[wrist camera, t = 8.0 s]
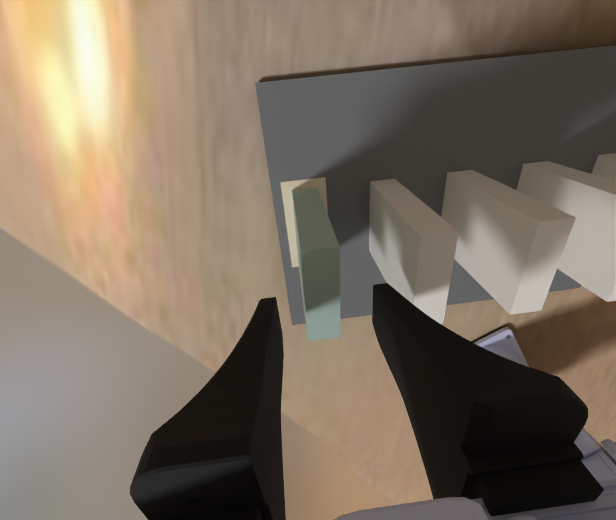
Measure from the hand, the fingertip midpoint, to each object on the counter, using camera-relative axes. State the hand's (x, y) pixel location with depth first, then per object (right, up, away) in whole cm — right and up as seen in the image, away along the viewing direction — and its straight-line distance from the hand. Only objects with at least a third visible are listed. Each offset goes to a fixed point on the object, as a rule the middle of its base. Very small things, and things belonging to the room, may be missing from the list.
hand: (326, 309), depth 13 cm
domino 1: (-1, +4, +8) cm, 9 cm away
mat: (+9, +6, +8) cm, 14 cm away
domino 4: (+14, +6, +8) cm, 17 cm away
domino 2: (+4, +5, +8) cm, 10 cm away
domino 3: (+9, +6, +8) cm, 13 cm away
